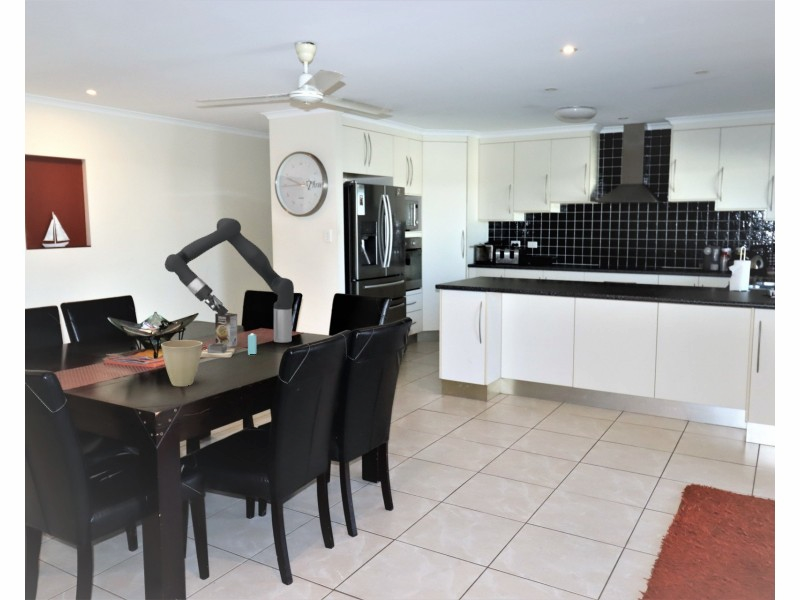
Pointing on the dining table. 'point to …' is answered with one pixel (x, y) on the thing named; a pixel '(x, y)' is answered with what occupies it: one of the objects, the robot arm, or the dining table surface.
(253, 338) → the teal block
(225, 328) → the coffee box
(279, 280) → the robot arm
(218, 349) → the board
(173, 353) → the plant pot
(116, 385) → the dining table surface
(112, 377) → the dining table surface
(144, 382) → the dining table surface
